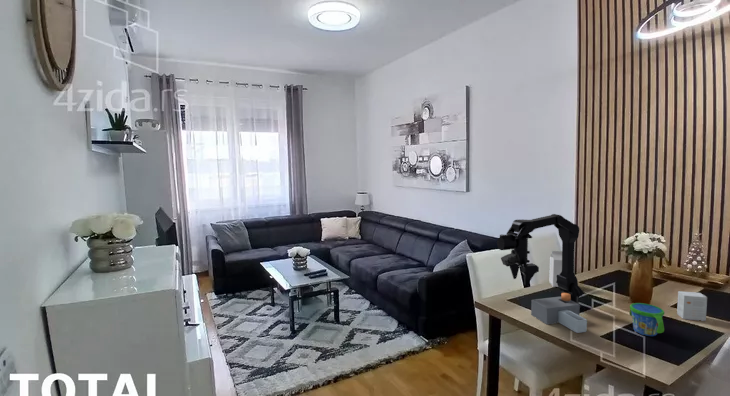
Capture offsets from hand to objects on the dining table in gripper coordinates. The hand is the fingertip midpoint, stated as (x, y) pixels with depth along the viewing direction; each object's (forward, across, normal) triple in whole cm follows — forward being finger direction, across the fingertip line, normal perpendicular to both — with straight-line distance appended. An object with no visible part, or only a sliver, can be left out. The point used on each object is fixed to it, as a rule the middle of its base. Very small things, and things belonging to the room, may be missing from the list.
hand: (520, 282), depth 164 cm
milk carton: (+15, -29, +40) cm, 52 cm away
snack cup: (+15, +27, +37) cm, 48 cm away
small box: (+15, +19, +68) cm, 72 cm away
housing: (+14, +8, +12) cm, 20 cm away
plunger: (+8, +7, +17) cm, 20 cm away
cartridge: (+14, +13, +12) cm, 23 cm away
